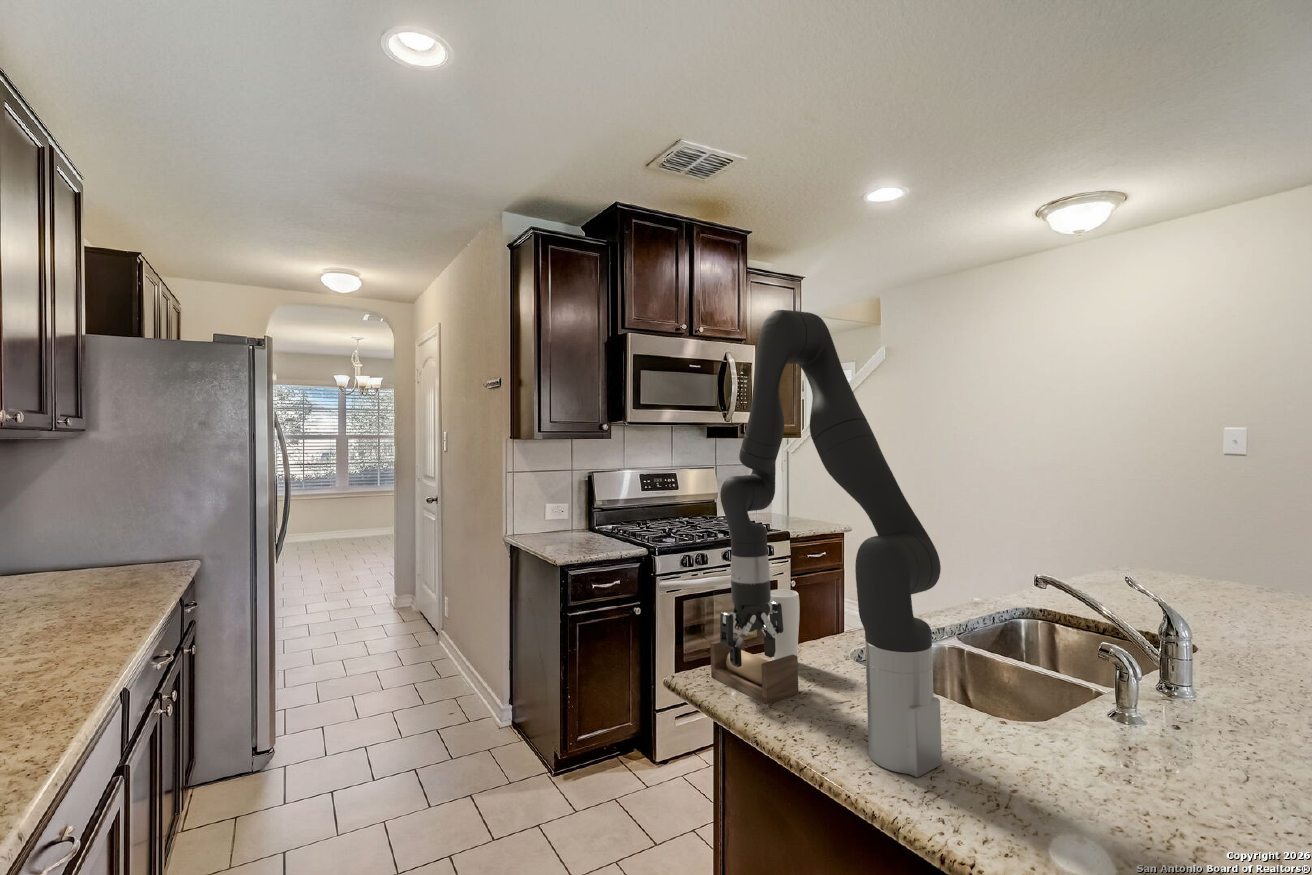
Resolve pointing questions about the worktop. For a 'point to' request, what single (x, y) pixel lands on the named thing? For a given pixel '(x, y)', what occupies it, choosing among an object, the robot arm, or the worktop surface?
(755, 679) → the roll
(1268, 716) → the worktop surface
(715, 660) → the holder
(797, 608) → the drinking glass
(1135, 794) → the worktop surface
